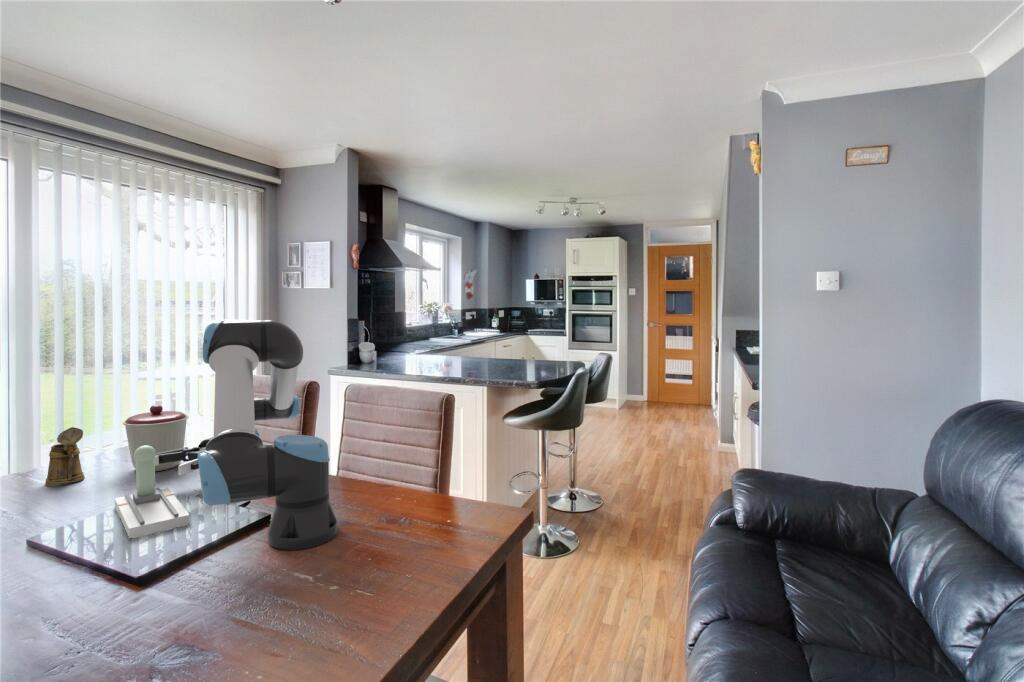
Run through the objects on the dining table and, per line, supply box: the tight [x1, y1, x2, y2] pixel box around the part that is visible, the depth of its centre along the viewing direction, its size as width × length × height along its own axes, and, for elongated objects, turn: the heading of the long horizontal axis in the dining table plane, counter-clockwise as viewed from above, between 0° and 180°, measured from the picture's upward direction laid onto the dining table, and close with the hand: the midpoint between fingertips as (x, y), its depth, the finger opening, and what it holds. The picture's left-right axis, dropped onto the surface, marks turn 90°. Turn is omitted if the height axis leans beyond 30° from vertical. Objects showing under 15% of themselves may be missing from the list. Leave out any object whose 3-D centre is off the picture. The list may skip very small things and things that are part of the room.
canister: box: [122, 404, 190, 472], centre depth 172 cm, size 18×18×21 cm
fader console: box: [114, 487, 191, 540], centre depth 132 cm, size 26×12×3 cm, turn 43°
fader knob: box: [132, 445, 160, 504], centre depth 136 cm, size 5×5×14 cm
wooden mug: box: [44, 426, 85, 487], centre depth 156 cm, size 9×14×18 cm, turn 54°
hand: (157, 468), depth 140 cm, fingers open, 13 cm apart
